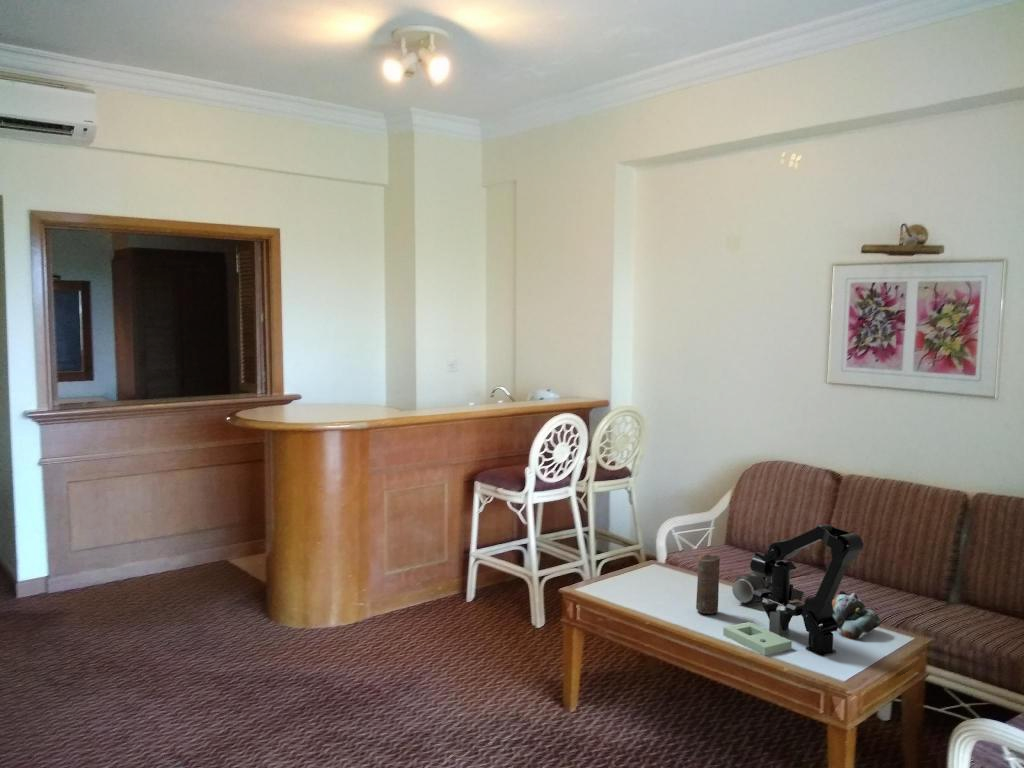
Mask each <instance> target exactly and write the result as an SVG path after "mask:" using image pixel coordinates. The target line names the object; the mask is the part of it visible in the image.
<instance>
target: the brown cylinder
mask: <svg viewBox="0 0 1024 768" xmlns="http://www.w3.org/2000/svg"><path fill="white" fill-rule="evenodd" d="M720 559H721V558H720V555H717V554H712V553H711V554H701V555H699V556H698V563H697V585H696V587H697V588H696V601H695V602H696V603H695V604H696V605H695V608H696V610H697V611H698V612H699V613H700V614H705V615H707V614H710V615H711V614H715V613H718V610H719V590H720V589H719V585H720V583H719V582H720V564H721V563H720V562H721V560H720Z"/></svg>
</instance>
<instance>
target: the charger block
mask: <svg viewBox="0 0 1024 768" xmlns="http://www.w3.org/2000/svg"><path fill="white" fill-rule="evenodd" d="M780 611H782V609H777V610H775V611H770V619H769V618H768V620H769V623H768V625H769V628H768V631H770V632H773V633H775V634H777V635H779V636H782V637H786V636H789V634H790V633H789V631H790V629H789V628H790V624H789V625H788V627H787V629H786V630H785V631H783V629H782V624H781V617H780Z"/></svg>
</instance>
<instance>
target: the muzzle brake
mask: <svg viewBox="0 0 1024 768" xmlns="http://www.w3.org/2000/svg"><path fill="white" fill-rule="evenodd" d="M790 580H791V574H790ZM768 582H771V576H765V575H762V574H759V573H756V572H753V571H752V572H750V573H748V574H747V573H746V574H743V575H741V576H738V577H736V579H735V580H734V582H733V584H732V589H731V590H732V594H733V596H734V598H735V599H736V600H737V601H738V602H740V603H746V604H753V603H754V601H755V602H757V601H756V600H755V599H753V592H754V591H755V590H759V589H764V588H765V589H768V590H770V591H771V586H768ZM752 602H753V603H752Z"/></svg>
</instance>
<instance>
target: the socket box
mask: <svg viewBox="0 0 1024 768" xmlns="http://www.w3.org/2000/svg"><path fill="white" fill-rule="evenodd" d="M722 630H723V631H722V632H723V636H724V637H726V638H728V639H730V640H732V641H734V642H737V643H738V644H741V645H743V646H744V647H747V648H748V649H751V650H753V651H755V652H757V653H759V654H761V655H763V656H767V655H768V656H770V655H772V654H777V653H781V652H786V651H790V650H792V648H793V647H792V645H793V644H792V643H793V642H792V640H790V639H788V638H786V637H785V636H782V637H781V636H779V635H777V634H775V633H773V632H770V631H769V629H766V628H764V627H761V626H760V625H757V624H755V623H752V622H751V621H747V622H744V623H743V622H742V623H738V624H737V623H736V624H734V625H729V626H723V628H722Z"/></svg>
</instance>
